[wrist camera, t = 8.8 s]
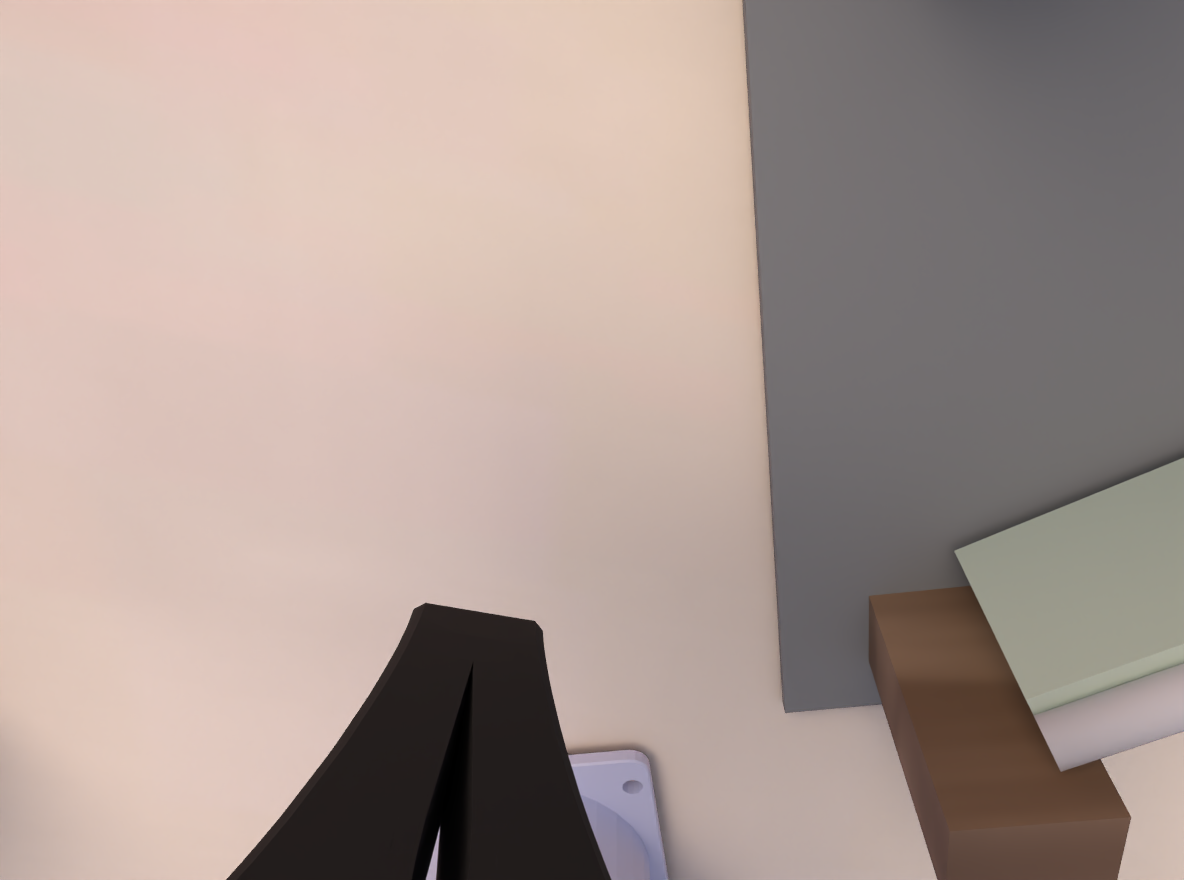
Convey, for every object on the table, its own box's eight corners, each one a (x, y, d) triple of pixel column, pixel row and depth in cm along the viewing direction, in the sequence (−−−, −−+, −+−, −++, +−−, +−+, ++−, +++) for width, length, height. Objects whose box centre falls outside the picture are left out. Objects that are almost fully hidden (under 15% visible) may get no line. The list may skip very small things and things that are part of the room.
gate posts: (994, 636, 23) (1114, 888, 18) (864, 648, 23) (944, 900, 18) (1083, -293, 14) (1397, -375, 8) (868, -257, 14) (1036, -312, 9)
